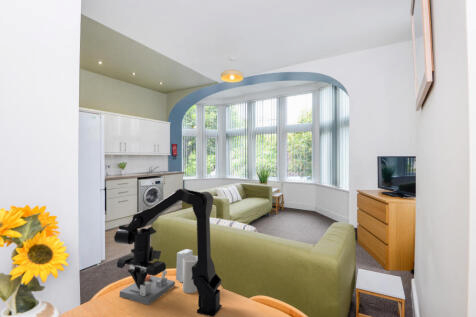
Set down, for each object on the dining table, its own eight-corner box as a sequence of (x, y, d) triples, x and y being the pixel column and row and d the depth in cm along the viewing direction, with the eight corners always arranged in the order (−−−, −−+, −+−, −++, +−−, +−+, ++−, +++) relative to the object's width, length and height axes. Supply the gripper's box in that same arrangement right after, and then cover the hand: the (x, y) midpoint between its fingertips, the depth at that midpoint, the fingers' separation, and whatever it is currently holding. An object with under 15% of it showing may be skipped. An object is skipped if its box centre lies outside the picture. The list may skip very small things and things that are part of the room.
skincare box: (185, 275, 100) (186, 248, 101) (192, 277, 98) (193, 249, 99) (175, 280, 95) (176, 252, 96) (182, 283, 93) (183, 254, 94)
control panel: (174, 286, 90) (175, 276, 91) (148, 305, 77) (149, 293, 77) (148, 279, 95) (148, 270, 96) (119, 296, 82) (120, 285, 82)
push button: (151, 279, 91) (152, 275, 91) (146, 282, 88) (146, 278, 88) (146, 277, 92) (146, 273, 93) (140, 281, 89) (140, 277, 90)
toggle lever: (164, 283, 88) (168, 270, 88) (161, 286, 86) (165, 272, 86) (160, 281, 89) (165, 268, 89) (157, 283, 87) (161, 270, 87)
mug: (196, 294, 84) (197, 262, 85) (179, 293, 85) (180, 261, 86) (203, 281, 94) (203, 253, 95) (187, 281, 95) (188, 252, 96)
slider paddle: (151, 292, 81) (151, 282, 81) (145, 296, 78) (145, 286, 79) (145, 290, 82) (146, 281, 82) (139, 294, 79) (140, 284, 80)
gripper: (176, 242, 87) (174, 283, 85) (140, 237, 93) (138, 274, 92) (155, 251, 76) (153, 298, 75) (117, 244, 83) (114, 287, 82)
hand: (140, 288), depth 81 cm, fingers closed
